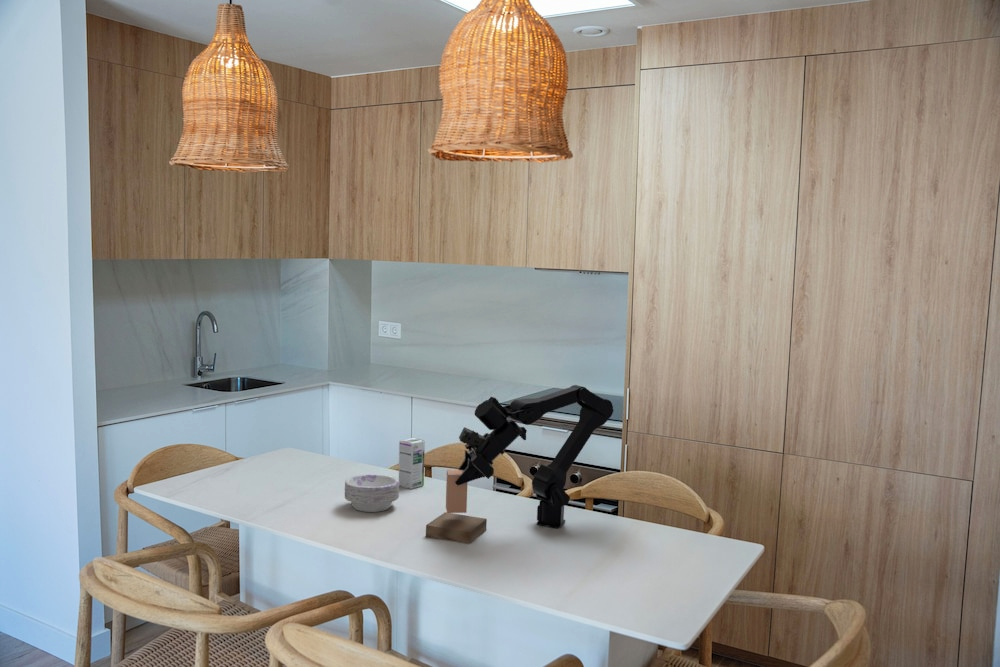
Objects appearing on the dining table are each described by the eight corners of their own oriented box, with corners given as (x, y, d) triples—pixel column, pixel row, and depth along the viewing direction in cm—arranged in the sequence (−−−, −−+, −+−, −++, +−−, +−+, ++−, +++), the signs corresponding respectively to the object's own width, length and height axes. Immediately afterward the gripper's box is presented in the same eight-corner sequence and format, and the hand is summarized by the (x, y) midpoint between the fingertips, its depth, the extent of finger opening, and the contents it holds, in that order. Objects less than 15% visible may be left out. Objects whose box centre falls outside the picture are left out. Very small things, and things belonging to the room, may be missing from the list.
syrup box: (411, 489, 250) (412, 443, 248) (397, 485, 253) (399, 439, 252) (424, 485, 254) (425, 440, 253) (410, 482, 258) (411, 437, 256)
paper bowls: (371, 496, 241) (371, 470, 240) (409, 507, 232) (410, 479, 231) (332, 508, 228) (333, 480, 228) (371, 519, 220) (372, 491, 219)
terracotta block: (464, 506, 215) (465, 469, 214) (466, 512, 210) (467, 474, 209) (445, 506, 214) (446, 469, 214) (447, 512, 210) (448, 474, 209)
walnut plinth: (486, 529, 215) (486, 518, 215) (469, 543, 204) (469, 532, 204) (444, 523, 219) (445, 512, 219) (425, 536, 208) (426, 525, 208)
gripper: (474, 411, 220) (432, 451, 220) (482, 425, 202) (436, 469, 201) (501, 440, 222) (460, 479, 221) (512, 456, 204) (467, 500, 203)
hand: (455, 481), depth 212 cm, fingers closed on terracotta block, 5 cm apart
